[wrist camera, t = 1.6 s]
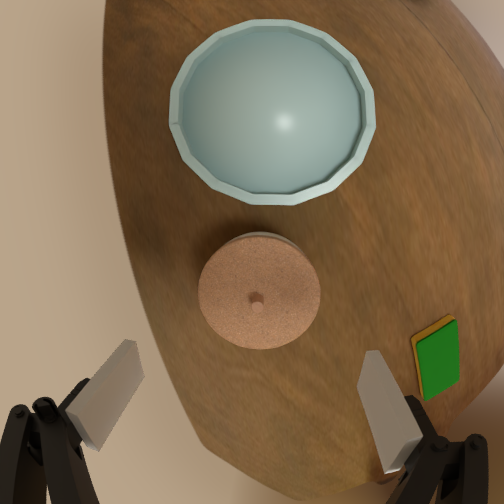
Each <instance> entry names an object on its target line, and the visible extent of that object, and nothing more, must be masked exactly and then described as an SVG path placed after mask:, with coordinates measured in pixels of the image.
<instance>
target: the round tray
mask: <svg viewBox="0 0 504 504" xmlns="http://www.w3.org/2000/svg"><path fill="white" fill-rule="evenodd" d="M169 127H170V130H171V132H172V135H173V137H174V140H175V142H176V145H177V147H178V150H179V152H180V155H181V157H182V160H183V161H184V162H185V163H186V164H187V165H188V166H189V167H190V168H191V169H192V170H193V171H194V172H195V173H196V174H197V175H198V176H199V177H200V178H201V179H202V180H203V181H204V182H205V183H206V184H207V185H209V186H210V187H211V188H212V189H214V190H217V191H219V192H222V193H224V194H227V195H229V196H231V197H234V198H236V199H239V200H241V201H244V202H246V203H248V204H253V205H296V204H299V203H301V202H304V201H306V200H309V199H312V198H314V197H317V196H320V195H322V194H325V193H328V192H331V191H333V190H334V189H335V188H336V187H337V186H339V185H340V184H341V183H342V182H343V181H344V180H345V179H346V178H347V177H348V176H349V175H350V174H351V173H352V172H353V171H354V170H355V169H356V168H357V167H358V166H359V165H361V164H362V162H363V159H364V157H365V154H366V152H367V149H368V147H369V144H370V142H371V139H372V137H373V134H374V131H375V129H376V121H375V104H374V92H373V89H372V87H371V85H370V83H369V81H368V79H367V77H366V75H365V73H364V72H363V70H362V68H361V66H360V64H359V62H358V61H357V59H356V57H354V56H353V55H352V54H351V53H350V52H349V51H348V50H347V49H345V48H344V47H343V46H342V45H341V44H340V43H338V42H337V41H336V40H335V39H334V38H332V37H331V36H330V35H329V34H326V33H325V32H323V31H320V30H318V29H315V28H312V27H310V26H307V25H304V24H301V23H298V22H295V21H292V20H275V19H263V20H252V21H251V20H249V21H246V22H243V23H240V24H237V25H234V26H231V27H229V28H226V29H223V30H221V31H218V32H216V33H214V34H213V35H212V36H211V37H209V38H208V39H207V40H206V41H204V42H203V43H202V44H201V45H200V46H199V47H197V48H196V49H195V50H194V51H193V52H192V53H191V54H190V55H188V56H187V58H186V60H185V62H184V63H183V65H182V67H181V69H180V71H179V73H178V75H177V77H176V79H175V81H174V83H173V85H172V87H171V91H170V108H169Z"/></svg>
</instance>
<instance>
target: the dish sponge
mask: <svg viewBox="0 0 504 504" xmlns="http://www.w3.org/2000/svg"><path fill="white" fill-rule="evenodd" d="M411 341H412V346H413V351H414V356H415V362H416V368H417V374H418V380H419V387H420V394H421V396H422V397H423V398H424V401H427V400H429V399H430V398H432V397H434V396H435V395H437V394H439V393H440V392H442V391H444V390H445V389H447V388H449V387H450V386H452V385H453V384H455V383H456V382H458V380H459V340H458V326H457V320H455V319H454V318H453V317H452V316H451V315H447V316H445V317H444V318H442V319H441V320H439V321H438V322H436V323H434V324H433V325H431V326H429V327H428V328H426V329H424V330H423V331H421V332H419V333H417V334H416V335H414V336H413V337H412V338H411Z"/></svg>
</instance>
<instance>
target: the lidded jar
mask: <svg viewBox="0 0 504 504" xmlns="http://www.w3.org/2000/svg"><path fill="white" fill-rule="evenodd" d="M320 298H321V290H320V283H319V279H318V276H317V274H316V271H315V269H314V267H313V265H312V264H311V262H310V260H309V259H308V258H307V257H306V255H305V254H304V253H303V252H302V250H301V249H300V248H299V247H298V246H296V245H295V244H294V243H293V242H291V241H290V240H288V239H287V238H285V237H283V236H280V235H278V234H274V233H270V232H251V233H247V234H243V235H240V236H238V237H236V238H233V239H232V240H230V241H229V242H227V243H226V244H225V245H223V246H222V247H220V248H219V249H218V250H217V251H216V252H215V253H214V254H213V255H212V256H211V257H210V259H209V260H208V261H207V263H206V264H205V266H204V268H203V270H202V272H201V275H200V278H199V283H198V300H199V305H200V308H201V311H202V314H203V315H204V317H205V319H206V321H207V322H208V324H209V325H210V326H211V327H212V329H213V330H215V331H216V332H217V333H218V334H219V335H220V336H222V337H223V338H224V339H226V340H228V341H230V342H231V343H233V344H236V345H239V346H241V347H246V348H251V349H270V348H275V347H279V346H282V345H285V344H287V343H289V342H291V341H293V340H294V339H296V338H297V337H299V336H300V335H301V334H302V333H303V332H305V331H306V330H307V328H308V327H309V326H310V325H311V323H312V322H313V320H314V318H315V316H316V314H317V311H318V308H319V304H320Z"/></svg>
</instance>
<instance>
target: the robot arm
mask: <svg viewBox="0 0 504 504" xmlns="http://www.w3.org/2000/svg"><path fill="white" fill-rule="evenodd" d="M143 378H144V373H143V369H142V365H141V361H140V357H139V353H138V348H137V344H136V341H132V340H126V339H125V340H124V341H123V342H122V343H121V345H120V346H119V347H118V348H117V349H116V350H115V352H114V353H113V354H112V355H111V356H110V357H109V358H108V359H107V361H106V362H105V363H104V364H103V365H102V366H101V368H100V369H99V370H98V371H97V372H96V374H95V375H94V376H93V377H92V378H91V379H89V378H85V379H84V380H82V381H80V382H79V383H78V384H77V385H76V386H75V388H74V389H73V390H72V391H71V392H70V394H69V395H68V396H67V397H66V398H65V399H64V401H63V402H62V403H61V404H60V405H59V406H58V408H57V406H56V404H55V402H54V401H53V400H52V399H51V398H49V397H42V398H38V399H37V400H36V401H35V402H34V403H33V406H32V408H33V410H34V411H35V413H31V412H30V410H29V409H28V407H27V406H26V405H23V404H19V405H16V406H14V407H13V408H12V409H11V411H10V413H9V416H8V419H7V422H6V425H5V429H4V432H3V435H2V439H1V443H0V504H46V491H47V486H48V491H49V495H50V500H51V504H99V501H98V498H97V496H96V493H95V490H94V487H93V484H92V481H91V478H90V475H89V472H88V469H87V466H86V462H85V458H84V455H83V451H82V448H81V446H80V443H81V441H82V440H83V442H84V443H85V444H86V446H87V447H89V448H91V449H93V450H96V451H98V452H99V451H100V449H101V448H102V446H103V444H104V443H105V441H106V439H107V437H108V436H109V434H110V432H111V431H112V429H113V427H114V426H115V424H116V422H117V421H118V419H119V417H120V416H121V414H122V412H123V411H124V409H125V408H126V406H127V404H128V402H129V401H130V399H131V398H132V396H133V395H134V393H135V391H136V390H137V388H138V386H139V385H140V383H141V382H142V380H143ZM357 390H358V392H359V395H360V398H361V401H362V404H363V407H364V410H365V413H366V416H367V419H368V422H369V425H370V428H371V431H372V434H373V437H374V440H375V444H376V447H377V450H378V453H379V457H380V460H381V463H382V467H383V470H384V474H386V473H391V472H395V471H399V470H400V469H401V467H402V466H403V465H405V468H406V471H405V472H404V473H403V475H402V476H401V477H400V478H399V479H398V480H399V483H398V484H397V486H396V488H395V490H394V491H393V493H392V494H391V496H390V498H389V499H388V501H387V502H386V504H429V503H430V501H431V499H432V496H433V494H434V492H435V490H436V487H437V485H438V490H437V496H436V501H435V504H487V503H488V448H487V441H486V439H485V438H484V437H483V436H481V435H480V434H471V435H470V436H468V437H467V439H466V440H465V441H464V442H449V441H448V439H447V438H445V437H443V436H438V435H437V433H436V431H435V429H434V427H433V425H432V423H431V422H430V420H429V418H428V416H427V415H426V412H425V410H424V409H423V407H422V405H421V403H420V401H419V400H418V399H416V398H415V397H414V396H413V395H410V396H405V397H404V396H403V394H402V392H401V390H400V389H399V387H398V385H397V383H396V381H395V379H394V377H393V375H392V374H391V372H390V370H389V368H388V366H387V364H386V363H385V361H384V359H383V357H382V355H381V354H380V352H379V350H374V351H366V355H365V359H364V362H363V366H362V370H361V374H360V377H359V381H358V384H357Z"/></svg>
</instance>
